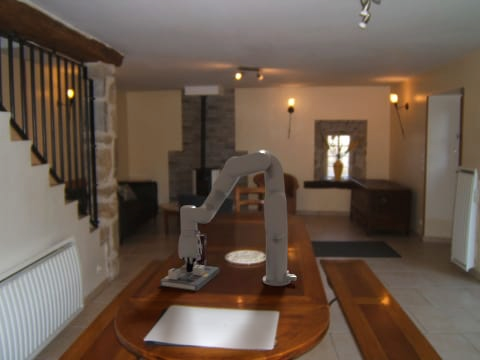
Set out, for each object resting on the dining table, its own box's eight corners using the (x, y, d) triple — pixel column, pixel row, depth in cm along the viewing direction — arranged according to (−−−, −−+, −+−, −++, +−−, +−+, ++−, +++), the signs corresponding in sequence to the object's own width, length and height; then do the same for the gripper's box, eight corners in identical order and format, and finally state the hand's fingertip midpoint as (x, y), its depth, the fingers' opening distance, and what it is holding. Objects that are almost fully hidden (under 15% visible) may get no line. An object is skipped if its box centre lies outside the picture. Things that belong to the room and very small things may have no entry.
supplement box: (188, 265, 209) (187, 235, 207) (191, 262, 213) (190, 232, 211) (204, 266, 207) (203, 235, 205) (207, 263, 212) (206, 233, 210)
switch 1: (180, 276, 185) (180, 268, 185) (176, 279, 181) (176, 271, 181) (173, 275, 186) (172, 267, 186) (168, 278, 183) (168, 270, 182)
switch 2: (196, 265, 200) (196, 257, 199) (192, 268, 196) (192, 260, 196) (189, 264, 201) (189, 257, 201) (185, 267, 198) (185, 259, 197)
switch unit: (219, 272, 198) (219, 267, 198) (196, 291, 176) (196, 285, 176) (186, 268, 205) (185, 263, 204) (160, 285, 182) (160, 280, 182)
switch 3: (204, 272, 190) (204, 264, 189) (200, 275, 186) (200, 267, 186) (196, 271, 191) (196, 264, 191) (193, 274, 187) (192, 266, 187)
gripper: (207, 232, 189) (208, 270, 191) (178, 229, 194) (179, 267, 196) (200, 236, 182) (201, 276, 184) (170, 233, 187) (171, 272, 189)
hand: (190, 271), depth 190 cm, fingers closed
